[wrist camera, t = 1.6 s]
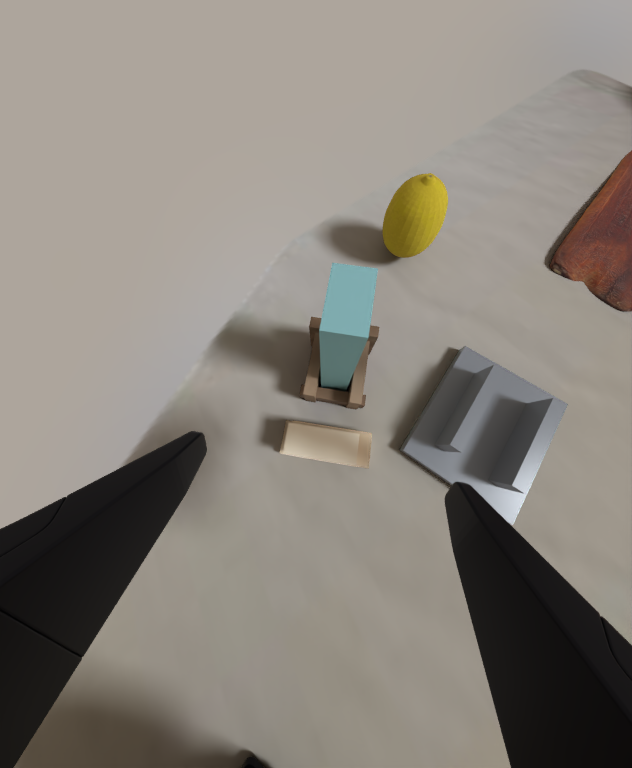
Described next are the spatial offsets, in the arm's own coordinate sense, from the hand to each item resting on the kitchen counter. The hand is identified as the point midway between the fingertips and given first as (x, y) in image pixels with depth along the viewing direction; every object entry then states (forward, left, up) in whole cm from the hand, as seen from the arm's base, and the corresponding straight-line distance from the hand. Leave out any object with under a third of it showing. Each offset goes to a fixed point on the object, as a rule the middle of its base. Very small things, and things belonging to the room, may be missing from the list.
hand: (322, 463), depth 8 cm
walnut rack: (+7, +3, -13) cm, 16 cm away
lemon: (+23, +5, -14) cm, 28 cm away
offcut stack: (+1, 0, -14) cm, 14 cm away
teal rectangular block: (+7, +3, -13) cm, 16 cm away
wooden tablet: (+43, -15, -14) cm, 48 cm away
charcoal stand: (+10, -11, -13) cm, 20 cm away
